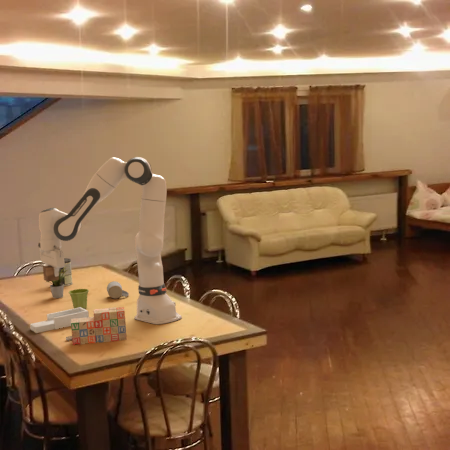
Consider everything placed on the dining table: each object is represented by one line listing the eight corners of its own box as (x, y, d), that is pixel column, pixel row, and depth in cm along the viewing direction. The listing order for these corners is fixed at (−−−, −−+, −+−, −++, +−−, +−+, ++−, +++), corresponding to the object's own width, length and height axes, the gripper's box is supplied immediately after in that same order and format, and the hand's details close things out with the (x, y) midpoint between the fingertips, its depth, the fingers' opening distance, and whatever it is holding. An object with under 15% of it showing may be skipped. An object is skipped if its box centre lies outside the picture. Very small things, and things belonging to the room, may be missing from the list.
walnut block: (58, 279, 282) (57, 266, 282) (47, 281, 280) (46, 268, 279) (54, 278, 286) (53, 265, 286) (43, 279, 284) (42, 266, 283)
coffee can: (55, 287, 352) (53, 262, 350) (52, 284, 361) (50, 259, 359) (74, 284, 356) (72, 260, 354) (70, 281, 365) (68, 257, 363)
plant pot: (70, 312, 300) (69, 294, 298) (69, 307, 309) (68, 289, 307) (90, 309, 302) (89, 292, 301) (89, 305, 311) (88, 287, 310)
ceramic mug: (108, 300, 319) (107, 285, 318) (107, 296, 327) (106, 281, 326) (129, 298, 322) (129, 283, 321) (127, 294, 329) (127, 279, 328)
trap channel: (89, 321, 282) (88, 310, 282) (36, 333, 269) (35, 322, 268) (81, 317, 289) (80, 307, 288) (30, 329, 275) (28, 317, 275)
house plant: (78, 292, 337) (75, 262, 334) (69, 299, 323) (66, 268, 321) (52, 293, 338) (49, 263, 336) (42, 300, 325) (39, 269, 322)
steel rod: (98, 334, 266) (97, 330, 266) (100, 332, 264) (98, 328, 265) (67, 341, 257) (65, 337, 258) (68, 340, 256) (67, 336, 257)
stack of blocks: (72, 345, 251) (69, 315, 249) (73, 340, 257) (70, 311, 255) (126, 340, 255) (124, 310, 253) (126, 335, 261) (124, 306, 259)
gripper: (66, 246, 275) (69, 277, 277) (49, 241, 291) (52, 270, 293) (52, 248, 271) (55, 279, 273) (36, 243, 288) (39, 272, 290)
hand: (53, 275), depth 283 cm, fingers closed on walnut block, 5 cm apart
